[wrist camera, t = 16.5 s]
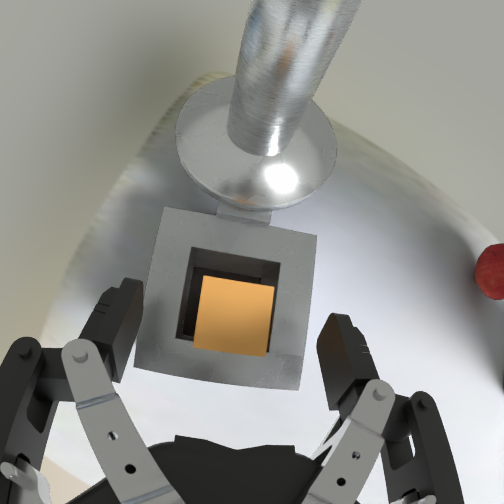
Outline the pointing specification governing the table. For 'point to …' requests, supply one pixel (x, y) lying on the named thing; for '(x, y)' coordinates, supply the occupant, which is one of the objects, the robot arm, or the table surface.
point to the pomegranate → (491, 272)
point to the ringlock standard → (249, 193)
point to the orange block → (233, 317)
